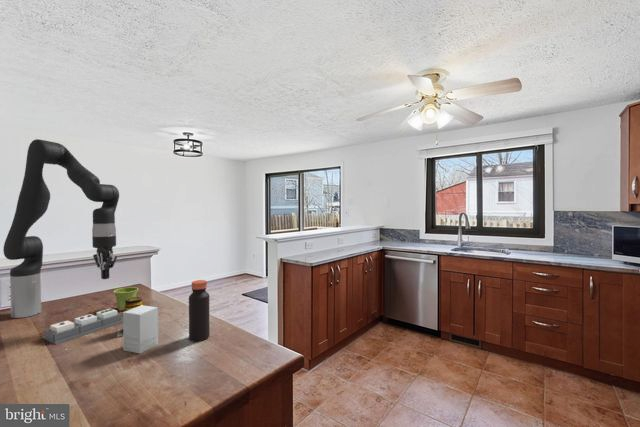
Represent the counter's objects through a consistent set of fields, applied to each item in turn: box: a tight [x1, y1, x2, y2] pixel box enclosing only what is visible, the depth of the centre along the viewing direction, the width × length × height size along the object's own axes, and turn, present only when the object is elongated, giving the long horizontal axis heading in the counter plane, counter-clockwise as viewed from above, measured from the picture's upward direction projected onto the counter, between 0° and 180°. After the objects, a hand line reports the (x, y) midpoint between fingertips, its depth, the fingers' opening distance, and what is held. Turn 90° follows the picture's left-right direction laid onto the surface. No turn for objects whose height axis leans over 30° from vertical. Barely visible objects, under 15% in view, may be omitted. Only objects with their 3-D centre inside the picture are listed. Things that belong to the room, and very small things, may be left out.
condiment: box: [116, 296, 143, 338], centre depth 110 cm, size 7×8×12 cm
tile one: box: [49, 320, 74, 333], centre depth 105 cm, size 5×5×3 cm
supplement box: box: [122, 304, 159, 354], centre depth 98 cm, size 7×7×13 cm
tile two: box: [74, 313, 97, 326], centre depth 111 cm, size 5×5×3 cm
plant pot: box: [113, 286, 139, 312], centre depth 134 cm, size 9×9×9 cm
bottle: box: [188, 279, 210, 342], centre depth 105 cm, size 7×7×20 cm
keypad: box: [41, 312, 123, 345], centre depth 111 cm, size 10×22×3 cm, turn 153°
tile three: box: [96, 308, 118, 319], centre depth 118 cm, size 5×5×3 cm
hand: (105, 278), depth 117 cm, fingers closed
